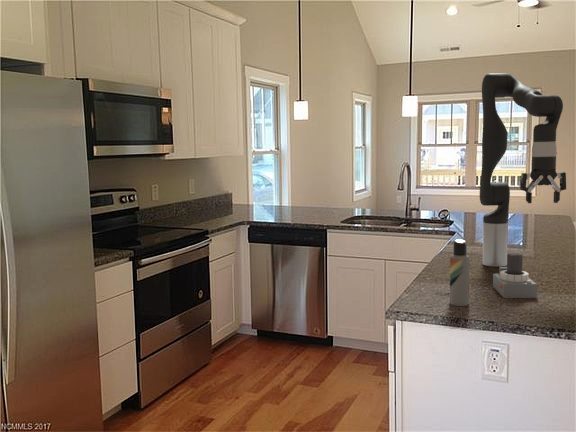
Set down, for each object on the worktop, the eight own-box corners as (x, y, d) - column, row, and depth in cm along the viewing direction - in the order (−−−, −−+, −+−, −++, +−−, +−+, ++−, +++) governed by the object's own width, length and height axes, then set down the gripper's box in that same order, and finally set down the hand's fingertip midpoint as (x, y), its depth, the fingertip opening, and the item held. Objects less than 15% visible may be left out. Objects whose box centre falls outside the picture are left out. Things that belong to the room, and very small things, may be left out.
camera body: (491, 286, 188) (491, 266, 187) (523, 286, 187) (523, 266, 186) (501, 297, 174) (502, 276, 173) (536, 298, 173) (537, 276, 172)
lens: (505, 279, 179) (505, 255, 178) (509, 276, 183) (509, 252, 182) (519, 280, 177) (520, 256, 176) (523, 278, 180) (524, 254, 179)
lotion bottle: (465, 300, 172) (466, 238, 169) (471, 306, 166) (472, 241, 164) (447, 301, 172) (447, 238, 169) (453, 306, 166) (454, 241, 164)
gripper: (562, 154, 188) (560, 201, 190) (518, 155, 190) (517, 202, 192) (570, 155, 180) (568, 203, 183) (525, 156, 182) (524, 204, 184)
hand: (542, 202), depth 187 cm, fingers open, 8 cm apart
